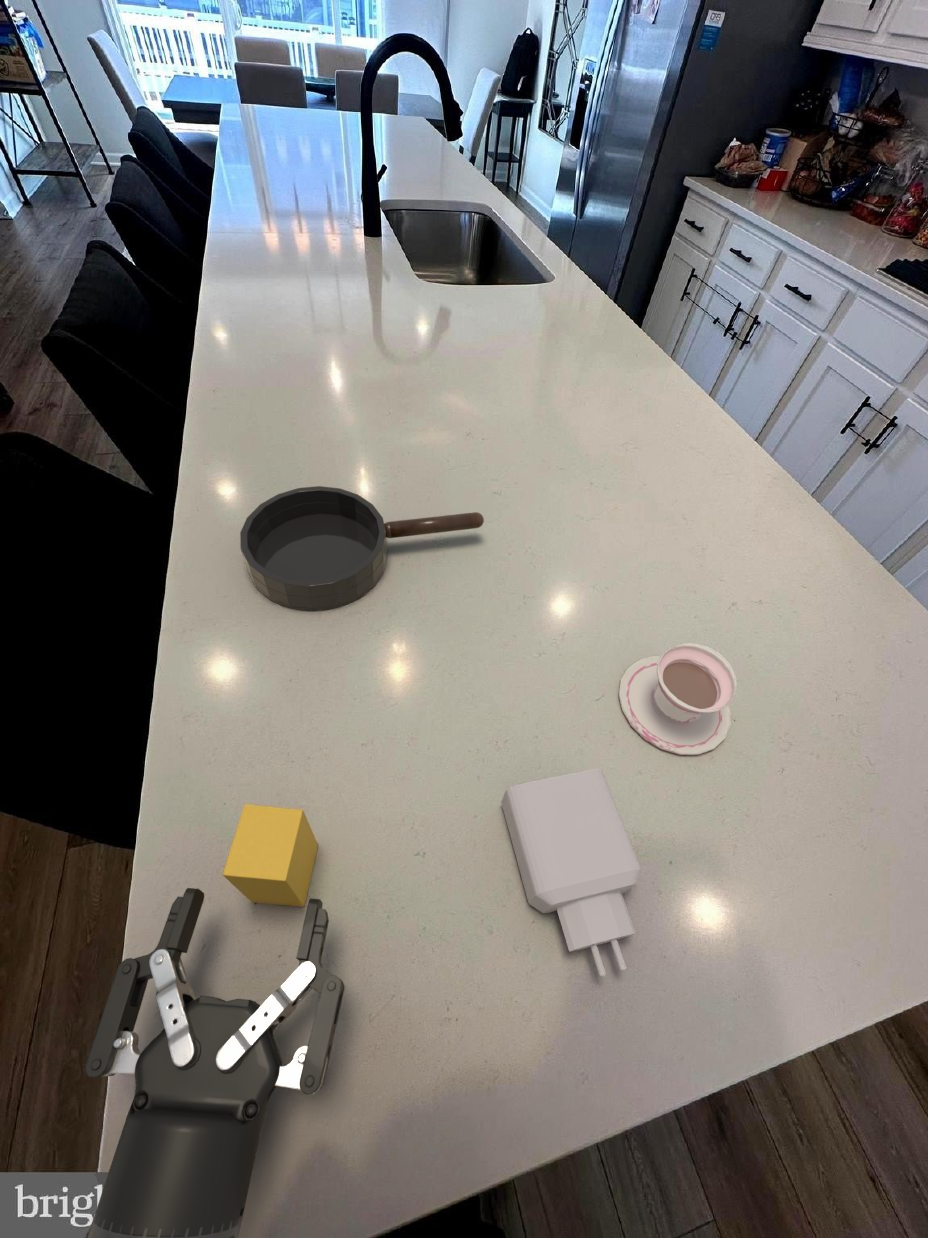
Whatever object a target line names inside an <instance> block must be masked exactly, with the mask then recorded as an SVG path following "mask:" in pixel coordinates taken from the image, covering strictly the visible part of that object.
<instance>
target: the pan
mask: <svg viewBox="0 0 928 1238" xmlns="http://www.w3.org/2000/svg"><path fill="white" fill-rule="evenodd" d="M384 523H385V521H384V517H383V516H382V514H381V513H380V512H379V511H378V509H377V508H376V506H375V505H374V504H373V503H372V502H370V501H368V500H367V499H366V498H364V497H362V496H361V495H359V494H358V493H356V492H352V491H349V490H346V489H344V488H340V487H332V486H331V487H330V486H322V485H321V486H320V485H316V486H306V487H298V488H297V487H296V488H294V489H291V490H287V491H284V492H281V493H278V494H275V495H274V496H272V497H270V498H268V499H267V500H265V501H263V502H262V503H260V504H259V505H258V506H257V507H256V508H255V509H254V510H253V511H252V512H251V513H250V514H249V515H248V516H247V517H246V519H245V521H244V523H243V526H242V528H241V530H240V532H239V535H240V536H239V539H240V541H239V543H240V546H239V547H240V552H241V554H242V555H241V556H242V557H243V560H244V564H245V567H246V569H247V573H248V574H249V577H250V579H251V581H252V583H253V584H254V586H255V588H256V589H257V590H258V591H259V593H261V594H262V595H263V596H264V597H265V598H267V599H269V600H270V601H271V602H273V603H275V604H277V605H279V606H283V607H285V608H288V609H293V610H297V611H306V612H316V611H326V610H327V611H328V610H334V609H338V608H341V607H344V606H346V605H349V604H352V603H354V602H355V601H357V600H358V599H361V598H362V597H364V596H366V594H368V593H369V592H370V591H372V589H373V588H375V586H376V585H377V584H378V583H379V581H380V579H381V578H382V576H383V574H384V572H385V569H386V565H387V557H388V546H387V542H388V541H387V538H386V529H385V525H384Z"/></svg>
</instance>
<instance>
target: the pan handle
mask: <svg viewBox="0 0 928 1238" xmlns="http://www.w3.org/2000/svg"><path fill="white" fill-rule="evenodd" d="M484 522H485V517H484V516H483V514H481V513H480V512H477V511H476V512H475V511H474V512H466V513H456V514H448V515H438V516H437V515H436V516H429V517H419V518H411V519H410V518H409V519H402V520H400V519H399V520H392V521H386V522H384V525H385V529H386V539H395V538H405V537H411V536H413V537H414V536H422V535H430V534H439V533H448V532H457V531H464V530H465V531H466V530H473V529H479V528H481V527H482V526H483V525H484Z"/></svg>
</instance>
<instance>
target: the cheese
mask: <svg viewBox="0 0 928 1238" xmlns="http://www.w3.org/2000/svg"><path fill="white" fill-rule="evenodd" d="M312 829H313V828H312V827H311V825H310V822H309V821H308V819H307V816H306V813H305V812H304V809H299V808H291V807H280V806H270V805H269V806H267V805H259V804H249V803H244V805H243V808H242V810H241V813H240V817H239V821H238V823H237V827H236V830H235V833H234V836H233V840H232V844H231V846H230V849H229V852H228V855H227V859H226V861H225V865H224V868H223V871H222V876H223V877H224V878H225V879H226V880H227V881H228V882H229V883H230V884H231V885H232V886H233V887H235V888H236V889H237V890H238V891H239V892H240V893H241V895H243V896H244V897H245V898H246V899H247V900H249V902H250V903H257V904H268V905H277V906H278V905H279V906H289V907H301V908H304V907H305V906H306V901H307V897H308V892H309V887H310V884H311V879H312V875H313V869H314V865H315V862H316V861H315V860H316V856H317V851H318V847H319V844H318V841H317V839H316V836H315V834H314V832H313V830H312Z"/></svg>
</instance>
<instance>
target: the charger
mask: <svg viewBox="0 0 928 1238" xmlns="http://www.w3.org/2000/svg"><path fill="white" fill-rule="evenodd" d="M615 801H616V800H615V799H614V796H613V794H612V791H611V788H610V787H609V783H608V780H607V778H606V776H605V773H604V771H603V769H601V768H592V769H587V770H582V771H577V772H572V773H568V774H562V775H558V776H551V777H548V778H542V779H537V780H532V781H527V782H524V783H523V782H522V783H519V784H515V785H512V786H510V787H508V788H506V789H505V791H504V794H503V796H502V799H501V801H500V803H501V807H502V811H503V814H504V818H505V821H506V825H507V829H508V833H509V836H510V839H511V843H512V847H513V851H514V854H515V858H516V862H517V865H518V866H517V867H518V869H519V873H520V877H521V880H522V884H523V887H524V891H525V895H526V898H527V899H526V900H527V902H528V905H530V906H532V907H533V908H534V909H536V910H537V911H539V912H541V913H542V914H547V913H552V912H557V916H558V918H559V922H560V925H561V928H562V932H563V934H564V939H565V942H566V946H567V949H568V952H575V951H579V950H584V949H588V948H590V951H591V953H592V957H593V959H594V963H595V966H596V969H597V973H598V976H600V977H601V978H603V977H605V976H606V975H607V973H606V969H605V966H604V964H603V960H602V957H601V954H600V951H599V948H598V946H600V945H602V944H603V945H604V944H606V943H610V945H611V947H612V950H613V953H614V956H615V959H616V963H617V965H618V968H619V970H620V971H621V972H625V971H626V970H627V965H626V962H625V959H624V956H623V954H622V950H621V947H620V944H619V942H618V940H620V939H621V940H622V939H624V938H626V937H631V936H634V935H637V932H636V930H635V926H634V924H633V921H632V918H631V915H630V912H629V911H628V908H627V905H626V901H625V899H624V896H623V894H624V893H626V892H627V891H628V890H630V889H631V888H633V887H634V886H636V884H637V881H638V878H639V876H640V874H641V871H642V866H641V864H640V862H639V860H638V857H637V855H636V852H635V850H634V847H633V845H632V842H631V839H630V836H629V834H628V832H627V829H626V826H625V824H624V821H623V819H622V817H621V813H620V811H619V809H618V806H617V803H616V802H615Z"/></svg>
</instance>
